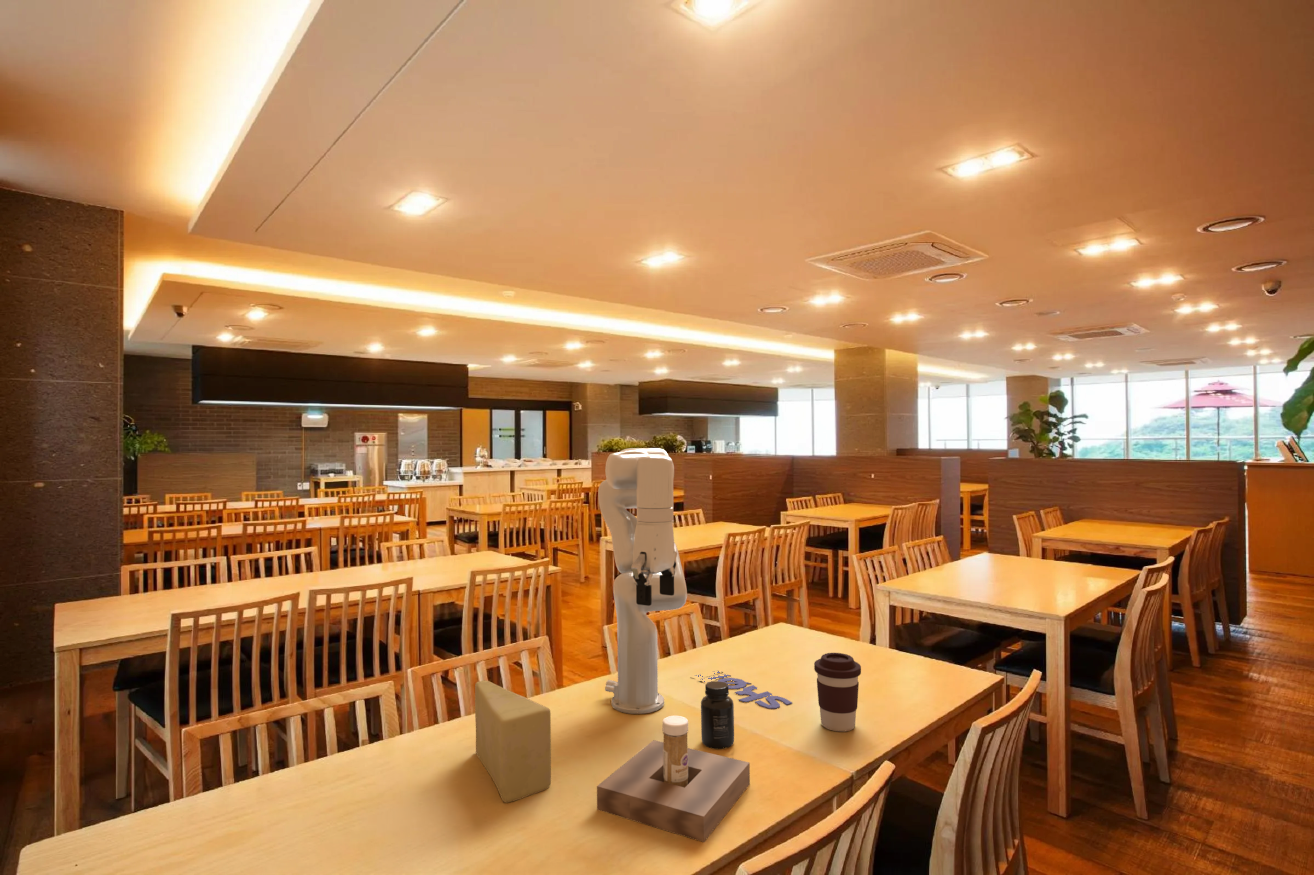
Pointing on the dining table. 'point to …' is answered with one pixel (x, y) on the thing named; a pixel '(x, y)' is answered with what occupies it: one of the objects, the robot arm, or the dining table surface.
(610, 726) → the dining table surface
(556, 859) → the dining table surface
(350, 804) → the dining table surface
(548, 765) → the cheese
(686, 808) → the walnut holder
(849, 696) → the coffee cup
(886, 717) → the dining table surface
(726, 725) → the supplement bottle
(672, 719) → the sprinkles bottle
